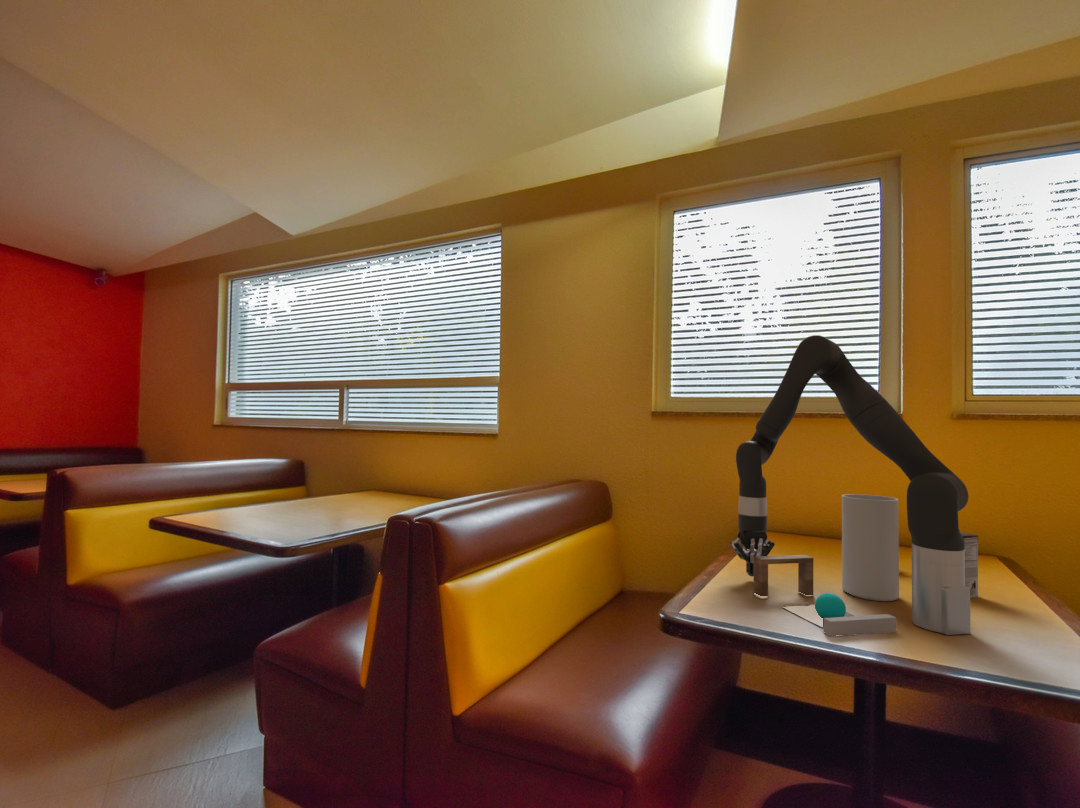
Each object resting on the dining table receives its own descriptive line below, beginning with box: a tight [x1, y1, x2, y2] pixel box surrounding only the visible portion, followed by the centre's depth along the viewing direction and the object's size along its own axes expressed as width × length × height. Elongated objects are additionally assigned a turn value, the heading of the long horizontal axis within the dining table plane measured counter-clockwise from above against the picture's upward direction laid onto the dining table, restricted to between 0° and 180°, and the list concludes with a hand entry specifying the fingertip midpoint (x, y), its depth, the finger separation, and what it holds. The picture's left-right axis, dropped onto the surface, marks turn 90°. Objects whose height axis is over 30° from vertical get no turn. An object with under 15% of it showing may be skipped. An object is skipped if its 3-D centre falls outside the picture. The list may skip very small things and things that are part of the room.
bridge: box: [753, 554, 814, 597], centre depth 133 cm, size 3×15×10 cm, turn 102°
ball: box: [814, 592, 847, 618], centre depth 116 cm, size 6×6×6 cm
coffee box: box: [960, 531, 979, 599], centre depth 139 cm, size 9×6×16 cm
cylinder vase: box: [841, 493, 900, 602], centre depth 136 cm, size 12×12×25 cm
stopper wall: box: [822, 613, 897, 637], centre depth 109 cm, size 2×16×3 cm, turn 102°
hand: (752, 575), depth 145 cm, fingers closed
